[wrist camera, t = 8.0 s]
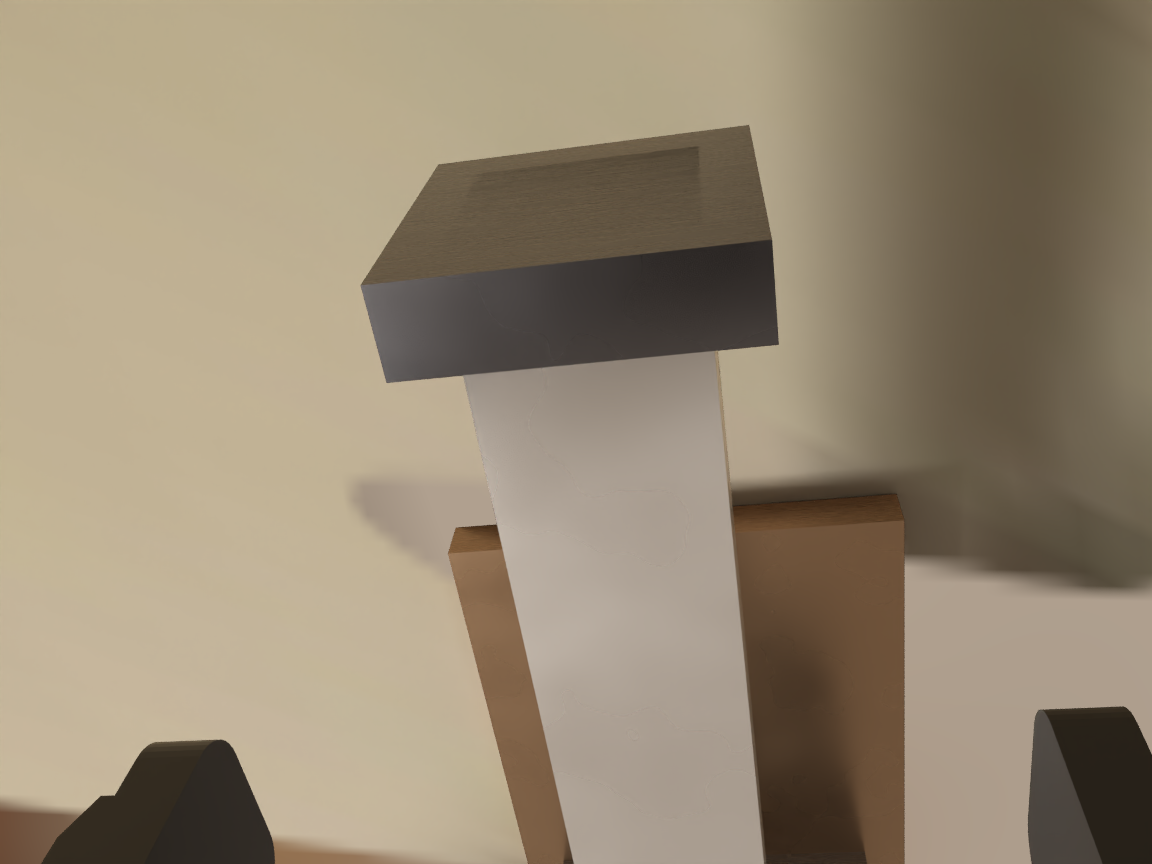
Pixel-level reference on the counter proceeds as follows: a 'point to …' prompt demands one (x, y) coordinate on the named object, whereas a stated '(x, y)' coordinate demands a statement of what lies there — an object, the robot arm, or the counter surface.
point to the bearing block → (752, 679)
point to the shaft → (607, 456)
